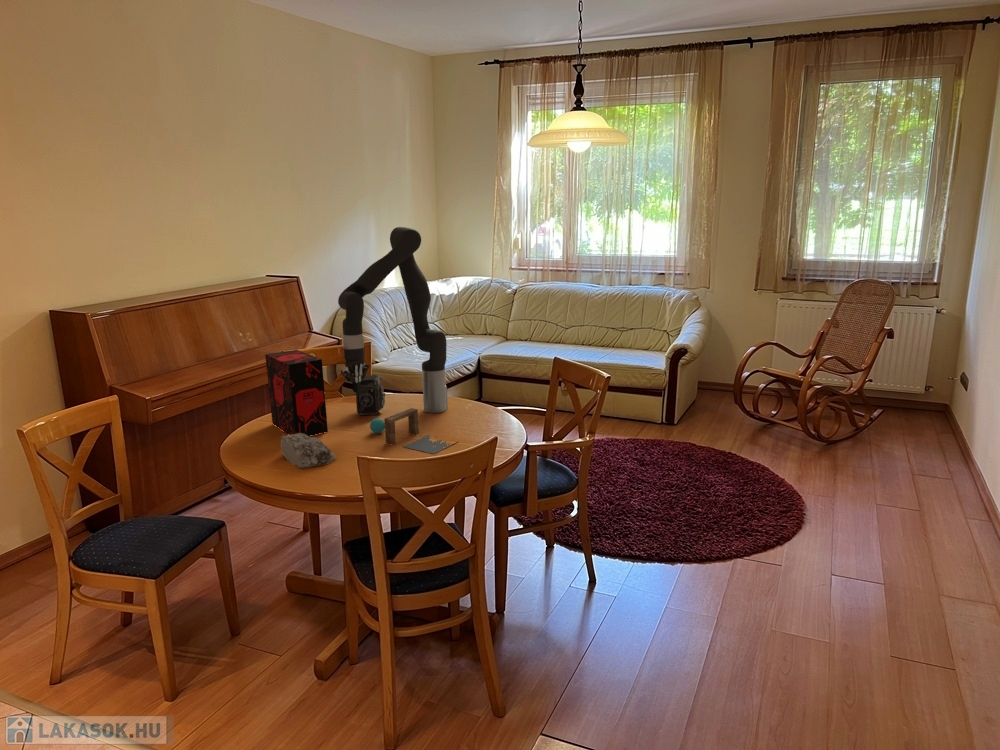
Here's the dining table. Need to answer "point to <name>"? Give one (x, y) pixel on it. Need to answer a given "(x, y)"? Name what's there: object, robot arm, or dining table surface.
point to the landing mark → (427, 445)
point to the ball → (377, 425)
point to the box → (297, 392)
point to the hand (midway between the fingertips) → (356, 391)
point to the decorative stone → (305, 450)
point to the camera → (370, 396)
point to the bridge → (390, 421)
